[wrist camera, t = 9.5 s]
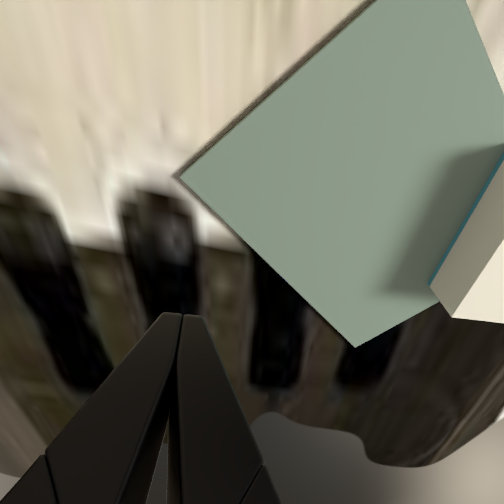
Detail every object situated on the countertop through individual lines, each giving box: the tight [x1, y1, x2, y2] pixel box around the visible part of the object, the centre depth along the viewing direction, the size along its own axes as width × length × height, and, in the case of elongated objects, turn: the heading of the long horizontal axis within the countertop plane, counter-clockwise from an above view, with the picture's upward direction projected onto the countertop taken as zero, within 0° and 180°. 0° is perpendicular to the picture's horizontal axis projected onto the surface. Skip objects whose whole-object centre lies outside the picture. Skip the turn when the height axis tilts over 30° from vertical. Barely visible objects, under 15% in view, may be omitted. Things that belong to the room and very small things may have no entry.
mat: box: [179, 0, 504, 347], centre depth 20 cm, size 14×17×1 cm
